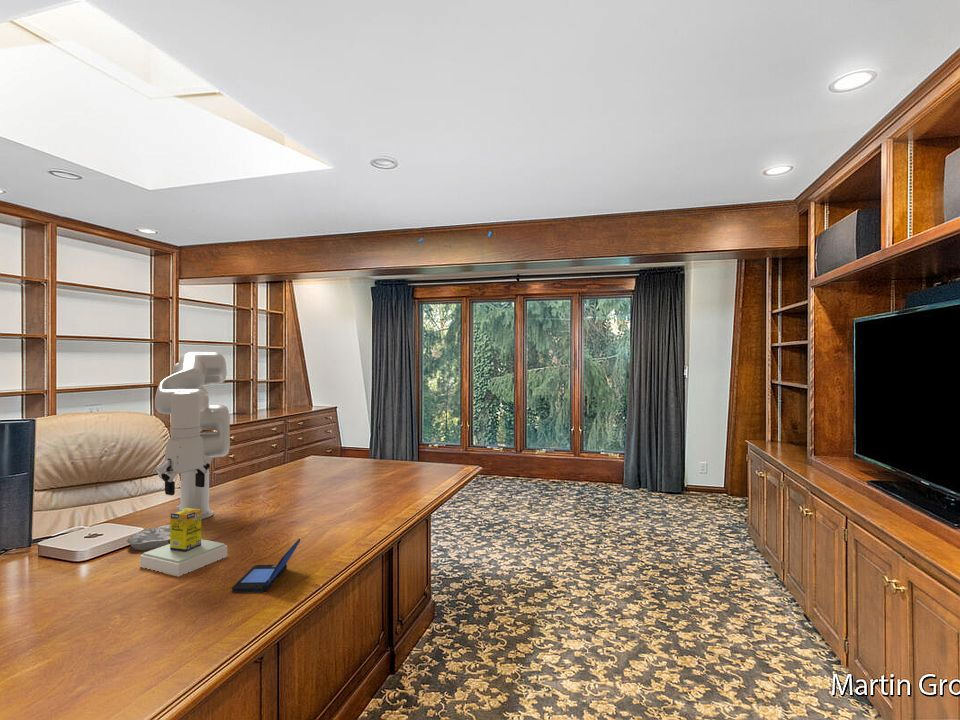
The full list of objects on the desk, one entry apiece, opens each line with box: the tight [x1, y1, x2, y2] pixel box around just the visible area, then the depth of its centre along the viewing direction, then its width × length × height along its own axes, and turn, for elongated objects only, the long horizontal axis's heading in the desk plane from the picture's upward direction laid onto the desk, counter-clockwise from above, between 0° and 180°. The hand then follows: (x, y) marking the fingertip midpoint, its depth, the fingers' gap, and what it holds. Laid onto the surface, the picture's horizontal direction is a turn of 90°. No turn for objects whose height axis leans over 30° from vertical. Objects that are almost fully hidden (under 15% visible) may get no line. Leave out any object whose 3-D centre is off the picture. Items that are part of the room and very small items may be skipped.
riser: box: [139, 538, 228, 578], centre depth 153 cm, size 16×16×4 cm
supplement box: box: [169, 508, 202, 552], centre depth 154 cm, size 6×6×11 cm
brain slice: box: [127, 524, 170, 551], centre depth 171 cm, size 20×17×3 cm
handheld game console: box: [231, 538, 301, 593], centre depth 141 cm, size 16×13×9 cm
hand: (185, 490), depth 154 cm, fingers open, 9 cm apart
